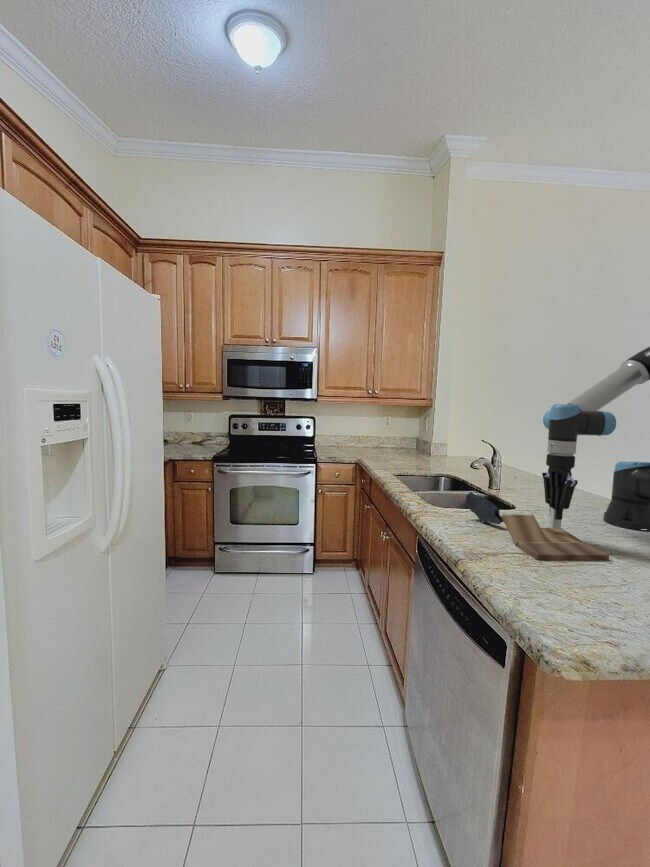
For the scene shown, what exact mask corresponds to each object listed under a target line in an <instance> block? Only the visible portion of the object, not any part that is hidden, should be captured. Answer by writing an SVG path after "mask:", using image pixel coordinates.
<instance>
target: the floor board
mask: <svg viewBox="0 0 650 867" xmlns="http://www.w3.org/2000/svg"><path fill="white" fill-rule="evenodd" d="M516 546H517V548H518V549H519V550H521V551H522V552H524V553H525V554H526V555H528V556H530V557H532V558H533V559H534V560H536V561H609V560H610V554H608V553H606V552H604V551H603V550H600V549H599V548H596V547H594V546H593V545H590V544H588V543H586V541H585V542H584V541H583V542H518V545H516Z"/></svg>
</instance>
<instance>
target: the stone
mask: <svg viewBox="0 0 650 867" xmlns="http://www.w3.org/2000/svg"><path fill="white" fill-rule="evenodd" d="M465 501H466V502H465V506H467V508H469V510H470V512H472V513H474V515H475V516H476V517H477V518H478V520H479V521H480V522H481V521H483V522H488V523H489V524H494V525H501V523H504V521H503V519H502V516H503V515H501V514H500V508H499V507H498V506H496V504H494V503H492V502H491V501H489V500H488V499H487V498H485V497H482V496H480V495H478V494H476V493H474V492H472V491H470V492H469V493H467V495H466V497H465Z"/></svg>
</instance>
